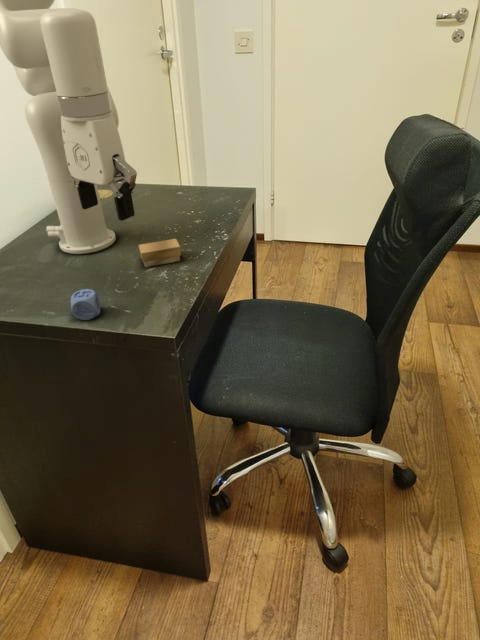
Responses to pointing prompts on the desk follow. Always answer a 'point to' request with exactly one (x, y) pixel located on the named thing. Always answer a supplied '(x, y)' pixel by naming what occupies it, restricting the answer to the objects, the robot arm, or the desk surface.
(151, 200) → the desk surface
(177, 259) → the tan rectangular brick
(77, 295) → the decorative dice
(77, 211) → the robot arm
